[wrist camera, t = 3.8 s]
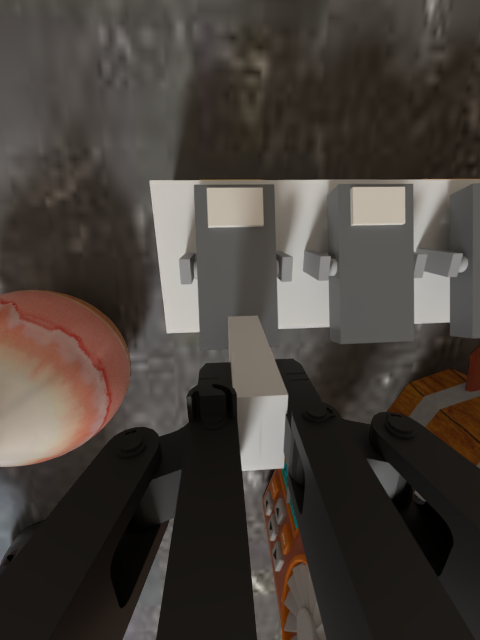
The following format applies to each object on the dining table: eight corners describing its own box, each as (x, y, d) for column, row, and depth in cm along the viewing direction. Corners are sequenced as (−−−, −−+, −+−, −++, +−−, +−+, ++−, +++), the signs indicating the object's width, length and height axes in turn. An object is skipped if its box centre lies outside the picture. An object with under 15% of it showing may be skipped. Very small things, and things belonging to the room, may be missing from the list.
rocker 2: (326, 341, 17) (339, 344, 15) (323, 195, 17) (336, 181, 15) (399, 338, 17) (421, 341, 16) (398, 195, 17) (420, 181, 15)
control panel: (253, 505, 38) (288, 421, 34) (299, 511, 39) (339, 431, 35) (292, 819, 18) (390, 720, 14) (382, 813, 19) (503, 719, 15)
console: (181, 302, 27) (157, 353, 17) (171, 188, 24) (132, 164, 13) (427, 294, 29) (545, 336, 18) (452, 187, 25) (616, 164, 15)
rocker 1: (199, 346, 17) (196, 351, 15) (193, 196, 16) (189, 182, 14) (276, 343, 17) (283, 347, 15) (272, 196, 17) (279, 181, 15)
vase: (96, 253, 25) (-137, 316, 9) (168, 369, 30) (106, 553, 13) (-28, 312, 26) (-446, 468, 10) (61, 415, 31) (-120, 638, 14)
